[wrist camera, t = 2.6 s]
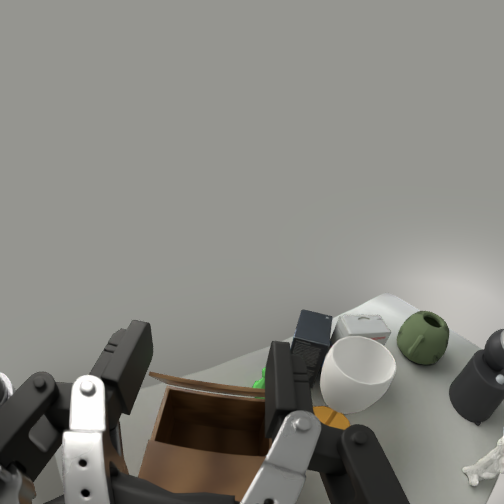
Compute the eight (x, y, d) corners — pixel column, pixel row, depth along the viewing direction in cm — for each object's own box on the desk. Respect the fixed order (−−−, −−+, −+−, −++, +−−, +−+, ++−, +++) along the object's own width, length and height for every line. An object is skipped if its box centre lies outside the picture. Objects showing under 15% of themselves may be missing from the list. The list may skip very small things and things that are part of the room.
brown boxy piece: (148, 519, 18) (129, 506, 14) (172, 418, 33) (166, 381, 30) (260, 535, 18) (276, 527, 14) (262, 430, 34) (273, 395, 30)
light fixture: (505, 362, 25) (481, 314, 38) (454, 425, 32) (444, 374, 44) (545, 367, 22) (520, 325, 34) (498, 425, 28) (485, 380, 41)
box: (289, 352, 50) (301, 308, 46) (317, 359, 49) (333, 316, 45) (279, 381, 43) (293, 335, 39) (311, 389, 42) (330, 345, 38)
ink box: (326, 383, 43) (349, 333, 39) (319, 363, 48) (338, 313, 43) (367, 378, 45) (392, 330, 40) (358, 360, 49) (380, 312, 44)
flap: (148, 375, 23) (149, 371, 23) (166, 383, 30) (166, 380, 30) (287, 394, 23) (287, 390, 23) (273, 398, 30) (273, 395, 30)
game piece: (278, 402, 39) (286, 379, 37) (251, 401, 39) (256, 377, 36) (276, 382, 43) (283, 358, 41) (250, 381, 43) (255, 357, 40)
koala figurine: (452, 472, 23) (501, 431, 18) (471, 451, 25) (514, 409, 20) (476, 500, 16) (529, 462, 11) (493, 476, 18) (540, 436, 13)
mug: (406, 326, 61) (419, 297, 57) (445, 351, 52) (461, 322, 48) (377, 353, 51) (393, 321, 48) (424, 385, 42) (445, 354, 39)
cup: (295, 404, 39) (324, 329, 32) (348, 408, 38) (389, 336, 32) (293, 451, 31) (330, 385, 24) (353, 453, 30) (407, 387, 24)
